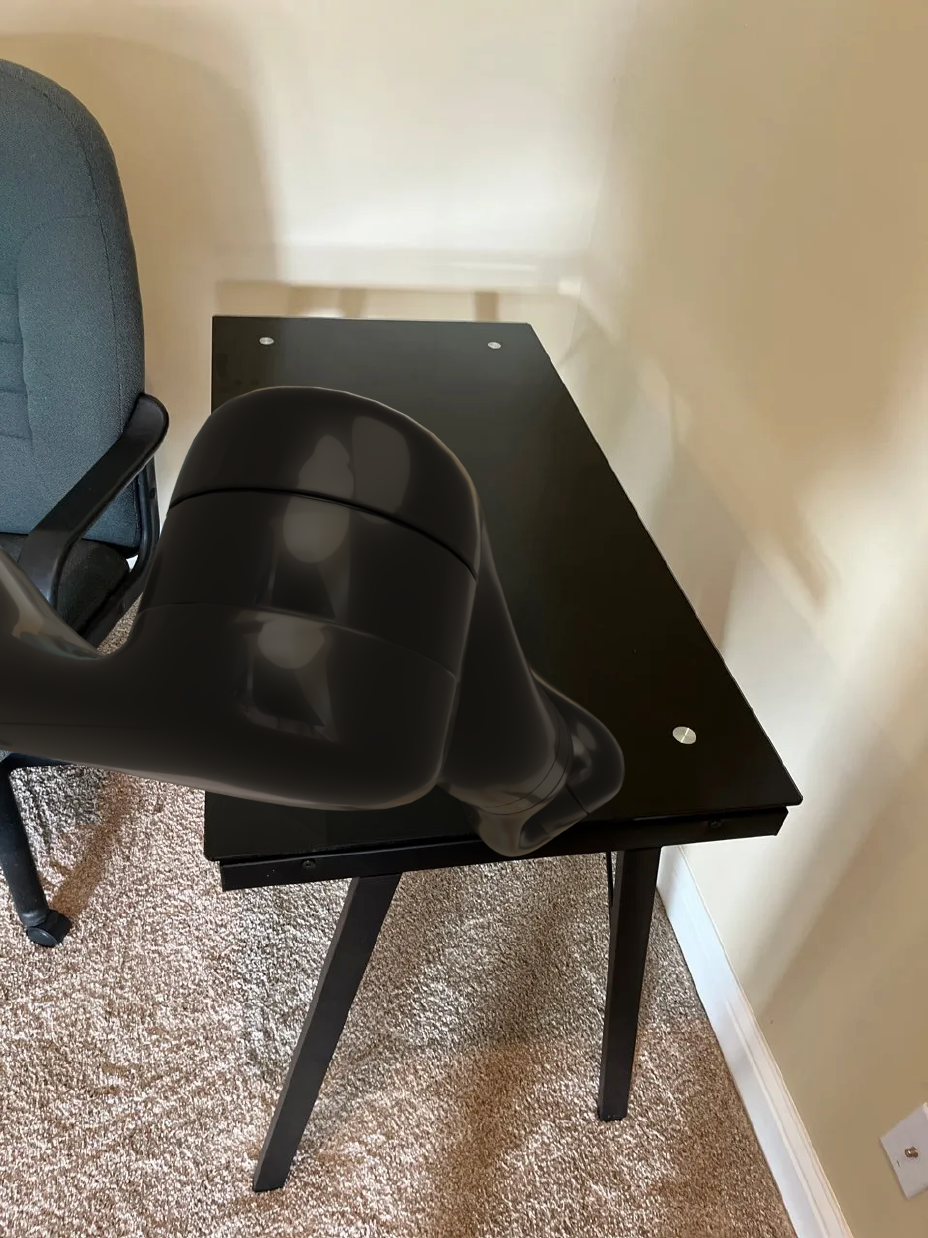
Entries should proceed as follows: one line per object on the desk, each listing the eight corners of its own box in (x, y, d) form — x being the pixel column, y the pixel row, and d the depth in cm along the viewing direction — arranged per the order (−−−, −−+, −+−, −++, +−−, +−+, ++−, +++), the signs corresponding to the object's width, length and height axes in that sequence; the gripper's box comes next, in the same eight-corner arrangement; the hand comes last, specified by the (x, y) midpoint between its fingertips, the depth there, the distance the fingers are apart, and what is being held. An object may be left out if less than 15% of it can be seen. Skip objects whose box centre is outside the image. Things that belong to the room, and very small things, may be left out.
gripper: (528, 556, 63) (444, 447, 73) (349, 593, 58) (286, 470, 68) (514, 628, 68) (437, 516, 78) (348, 668, 63) (290, 543, 73)
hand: (367, 495), depth 73 cm, fingers open, 8 cm apart
